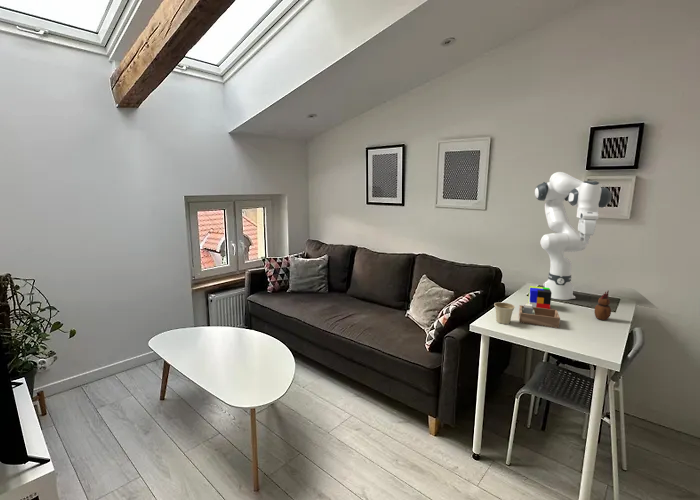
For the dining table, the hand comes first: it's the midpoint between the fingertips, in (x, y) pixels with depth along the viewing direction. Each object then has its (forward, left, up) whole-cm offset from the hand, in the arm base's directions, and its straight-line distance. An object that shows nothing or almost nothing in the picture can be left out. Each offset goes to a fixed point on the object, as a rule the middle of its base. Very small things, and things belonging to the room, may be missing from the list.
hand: (583, 242), depth 180 cm
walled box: (+14, -18, -39) cm, 45 cm away
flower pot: (+23, -34, -39) cm, 57 cm away
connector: (+14, -23, -38) cm, 47 cm away
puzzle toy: (-11, -16, -39) cm, 44 cm away
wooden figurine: (-2, +12, -39) cm, 41 cm away
